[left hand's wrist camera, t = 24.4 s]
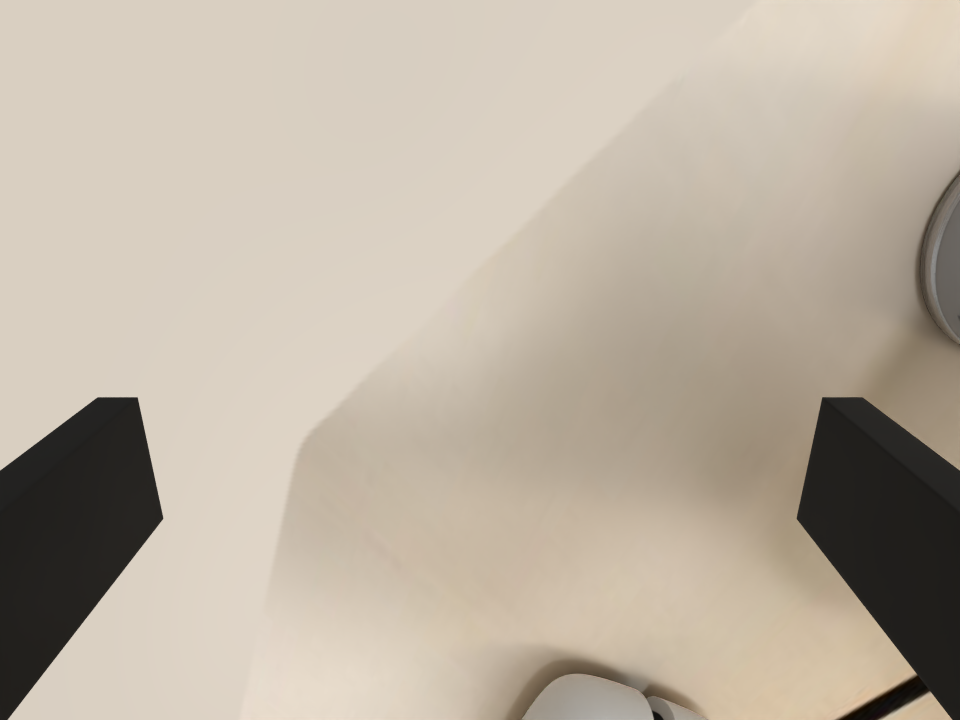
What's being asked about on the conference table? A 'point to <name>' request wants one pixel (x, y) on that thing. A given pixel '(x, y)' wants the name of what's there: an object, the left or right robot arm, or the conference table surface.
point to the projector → (601, 702)
